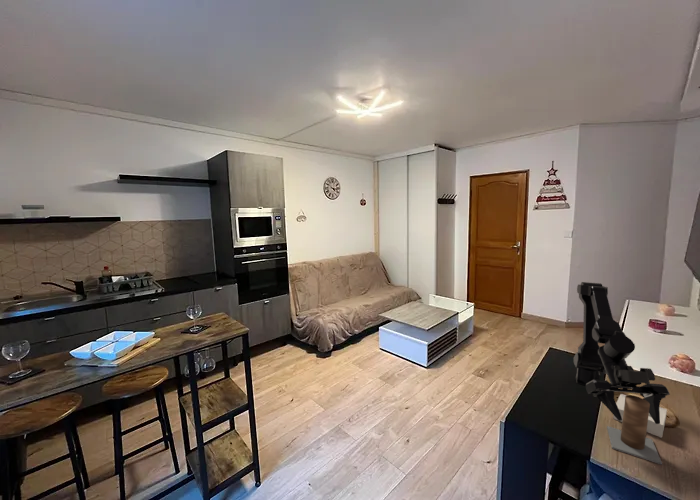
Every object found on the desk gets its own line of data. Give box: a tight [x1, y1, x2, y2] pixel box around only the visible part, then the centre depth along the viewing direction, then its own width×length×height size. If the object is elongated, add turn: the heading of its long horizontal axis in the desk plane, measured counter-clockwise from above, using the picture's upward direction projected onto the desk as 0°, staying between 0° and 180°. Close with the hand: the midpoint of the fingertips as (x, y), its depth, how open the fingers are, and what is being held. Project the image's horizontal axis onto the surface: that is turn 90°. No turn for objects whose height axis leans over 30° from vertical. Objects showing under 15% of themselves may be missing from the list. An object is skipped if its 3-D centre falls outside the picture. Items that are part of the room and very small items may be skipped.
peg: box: [620, 394, 650, 450], centre depth 85 cm, size 5×5×13 cm
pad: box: [606, 425, 663, 466], centre depth 86 cm, size 10×10×1 cm
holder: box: [612, 393, 668, 439], centre depth 96 cm, size 11×11×4 cm
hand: (639, 422), depth 84 cm, fingers open, 9 cm apart
